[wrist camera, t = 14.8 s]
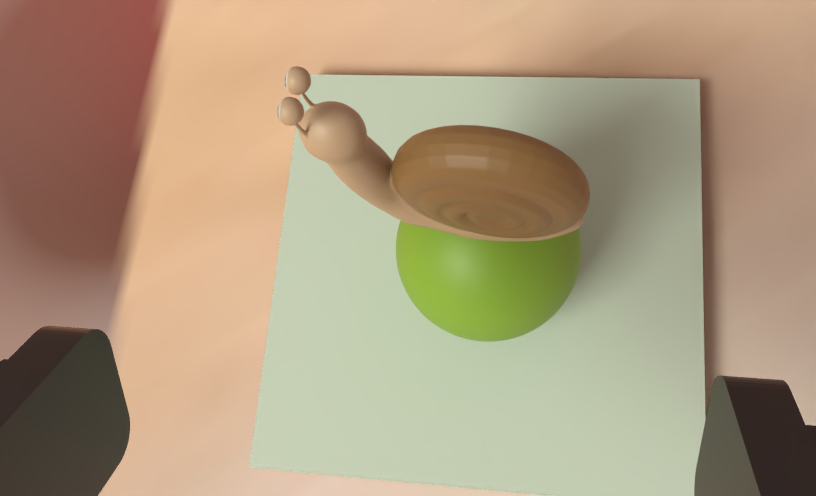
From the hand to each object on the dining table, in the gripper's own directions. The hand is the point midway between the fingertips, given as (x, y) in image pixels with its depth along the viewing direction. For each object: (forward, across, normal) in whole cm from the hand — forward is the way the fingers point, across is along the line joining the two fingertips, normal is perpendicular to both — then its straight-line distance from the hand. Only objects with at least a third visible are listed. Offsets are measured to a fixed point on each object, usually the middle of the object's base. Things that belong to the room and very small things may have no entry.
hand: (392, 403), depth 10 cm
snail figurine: (+14, 0, +6) cm, 16 cm away
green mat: (+15, 0, +7) cm, 17 cm away
